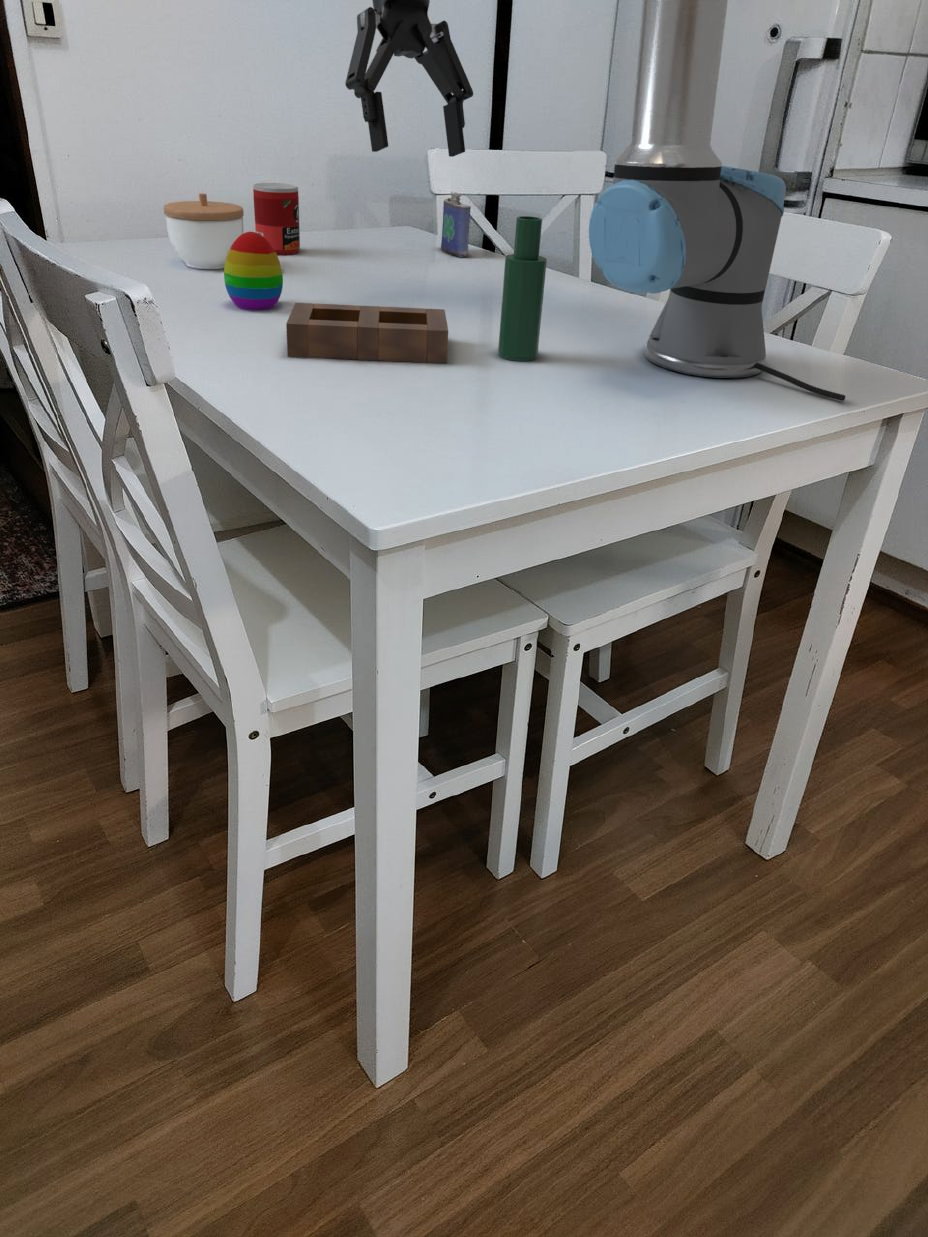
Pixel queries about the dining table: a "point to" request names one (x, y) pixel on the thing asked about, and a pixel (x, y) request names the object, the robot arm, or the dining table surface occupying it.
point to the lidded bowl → (203, 230)
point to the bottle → (522, 293)
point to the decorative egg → (253, 273)
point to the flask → (455, 226)
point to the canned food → (278, 216)
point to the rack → (367, 333)
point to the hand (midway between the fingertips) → (419, 151)
